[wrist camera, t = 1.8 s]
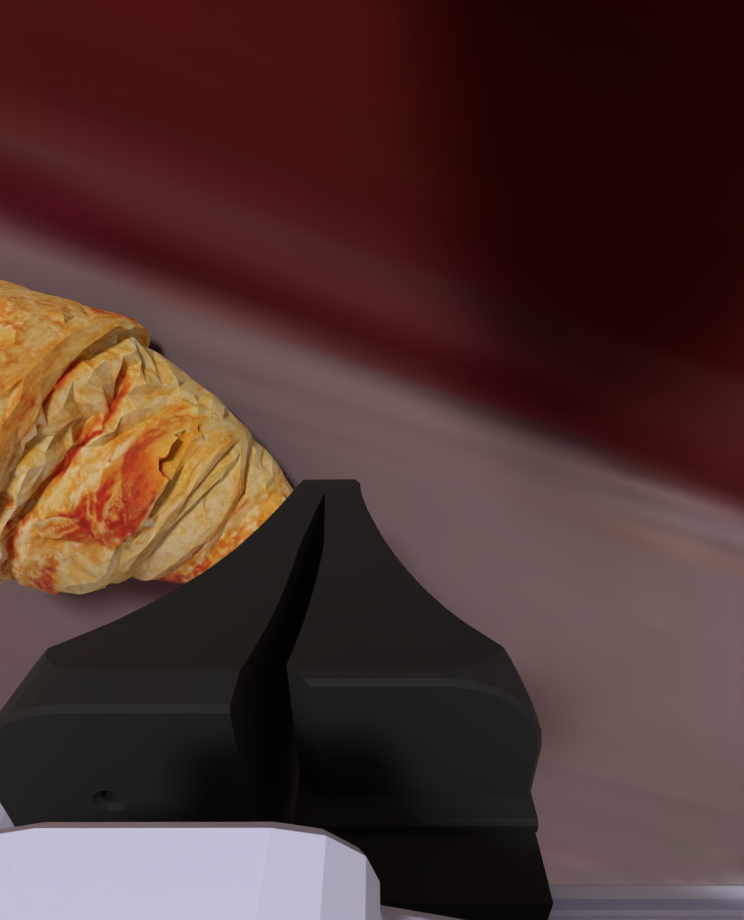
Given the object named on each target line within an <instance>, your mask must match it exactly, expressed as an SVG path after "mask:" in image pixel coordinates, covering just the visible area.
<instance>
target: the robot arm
mask: <svg viewBox="0 0 744 920" xmlns="http://www.w3.org/2000/svg"><path fill="white" fill-rule="evenodd" d="M540 750H541V729H540V726H539V722H538V718H537V715H536V712H535V709H534V707H533V704H532V702H531V699H530V697H529V695H528V693H527V691H526V688H525V686H524V684H523V682H522V680H521V678H520V676H519V674H518V672H517V670H516V668H515V666H514V665H513V663H512V661H511V659H510V657H509V656H508V654H507V652H506V650H505V649H504V648H503V647H502V646H501V645H499V644H498V643H496V642H494V641H493V640H491V639H490V638H488V637H487V636H485V635H483V634H482V633H480V632H479V631H477V630H476V629H474V628H472V627H471V626H469V625H468V624H466V623H465V622H463V621H462V620H460V619H459V618H458V617H457V616H455V615H454V614H453V613H451V612H450V611H449V610H447V609H446V608H445V607H444V606H443V605H442V604H441V603H439V602H438V601H437V600H436V599H435V598H434V597H433V596H432V595H431V594H430V593H428V592H427V591H426V590H425V589H424V588H423V587H422V586H421V585H420V584H419V583H418V582H417V581H416V580H415V579H414V577H413V576H412V575H411V574H410V573H409V572H408V571H407V570H406V568H405V567H404V566H403V565H402V564H401V562H400V561H399V560H398V559H397V557H396V556H395V555H394V553H393V552H392V550H391V549H390V548H389V546H388V545H387V543H386V542H385V540H384V539H383V537H382V535H381V534H380V532H379V530H378V529H377V527H376V525H375V523H374V521H373V519H372V518H371V516H370V514H369V512H368V509H367V507H366V505H365V502H364V500H363V497H362V494H361V489H360V483H359V482H358V481H356V480H303V481H302V482H301V483H300V484H299V485H298V486H297V487H296V488H295V489H294V490H293V492H292V493H291V494H290V495H289V496H288V497H287V498H286V499H285V501H284V502H283V503H282V504H281V505H280V506H279V507H278V508H277V509H276V510H275V511H274V512H273V513H272V515H271V516H270V517H269V518H268V519H267V520H266V521H265V522H264V523H263V524H262V525H261V526H260V527H259V528H258V529H257V530H256V531H254V532H253V533H252V534H251V535H250V536H249V537H248V538H247V539H246V540H245V541H243V542H242V543H241V544H240V545H239V546H238V547H237V548H235V549H234V550H233V551H232V552H230V553H229V554H228V555H227V556H225V557H224V558H223V559H221V560H220V561H218V562H217V563H216V564H214V565H213V566H212V567H210V568H209V569H207V570H206V571H204V572H203V573H201V574H200V575H198V576H196V577H195V578H193V579H192V580H190V581H188V582H187V583H185V584H183V585H182V586H180V587H179V588H177V589H175V590H174V591H172V592H170V593H169V594H167V595H165V596H163V597H162V598H160V599H158V600H156V601H154V602H152V603H150V604H148V605H147V606H145V607H143V608H141V609H139V610H136V611H134V612H132V613H130V614H128V615H126V616H124V617H122V618H120V619H118V620H116V621H113V622H111V623H109V624H107V625H104V626H102V627H100V628H97V629H95V630H92V631H90V632H87V633H85V634H83V635H80V636H78V637H75V638H73V639H70V640H68V641H66V642H63V643H61V644H58V645H55V646H53V647H50V648H48V649H47V650H46V651H45V652H44V654H43V655H42V656H41V657H40V659H39V660H38V661H37V663H36V664H35V665H34V666H33V668H32V669H31V670H30V671H29V673H28V674H27V675H26V677H25V678H24V680H23V681H22V682H21V684H20V685H19V686H18V688H17V689H16V691H15V692H14V693H13V695H12V696H11V697H10V699H9V700H8V701H7V703H6V704H5V706H4V707H3V708H2V710H1V711H0V920H744V885H549V884H548V880H547V876H546V872H545V868H544V865H543V861H542V857H541V853H540V849H539V845H538V841H537V838H536V834H535V832H537V829H538V818H537V814H536V810H535V807H534V803H533V799H532V796H531V787H532V783H533V779H534V775H535V771H536V767H537V762H538V758H539V754H540Z"/></svg>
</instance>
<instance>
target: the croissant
mask: <svg viewBox="0 0 744 920" xmlns="http://www.w3.org/2000/svg"><path fill="white" fill-rule="evenodd" d="M149 344H150V336H149V334H148V333H147V331H146V329H145V328H144V327H143V326H142V325H140V324H139V323H138V322H137V321H136V320H135V319H132V318H129V317H126V316H124V315H120V314H116V313H112V312H108V311H104V310H100V309H96V308H92V307H88V306H84V305H83V304H81V303H78V302H75V301H72V300H68V299H65V298H61V297H57V296H52V295H48V294H44V293H40V292H36V291H32V290H29V289H28V288H26V287H23V286H20V285H17V284H14V283H11V282H8V281H5V280H1V279H0V585H1V584H2V583H3V582H4V581H5V580H13V579H15V580H17V581H18V582H19V583H20V584H21V585H23V586H27V587H30V588H35V589H39V590H41V591H43V592H46V593H48V594H54V595H56V594H58V593H59V592H66V593H73V594H85V593H88V592H92V591H95V590H99V589H104V588H106V586H107V585H108V584H115V583H120V582H123V581H125V580H127V579H128V578H130V577H134V578H136V579H139V580H142V581H148V580H158V581H163V582H169V583H174V584H179V585H183V584H185V583H187V582H188V581H190V580H192V579H193V578H195V577H196V576H198V575H200V574H201V573H203V572H204V571H206V570H207V569H209V568H210V567H212V566H213V565H214V564H216V563H217V562H218V561H220V560H221V559H223V558H224V557H225V556H227V555H228V554H229V553H230V552H232V551H233V550H234V549H235V548H237V547H238V546H239V545H240V544H241V543H242V542H243V541H245V540H246V539H247V538H248V537H249V536H250V535H251V534H252V533H253V532H254V531H256V530H257V529H258V528H259V527H260V526H261V525H262V524H263V523H264V522H265V521H266V520H267V519H268V518H269V517H270V516H271V515H272V513H273V512H274V511H275V510H276V509H277V508H278V507H279V506H280V505H281V504H282V503H283V502H284V501H285V499H286V498H287V497H288V496H289V495H290V494H291V493H292V492H293V489H292V487H291V486H290V484H289V483H288V481H287V480H286V478H285V476H284V474H283V472H282V470H281V469H280V467H279V465H278V463H277V462H276V461H275V460H274V459H273V457H272V456H271V455H270V454H269V453H268V452H267V451H266V450H265V449H264V448H263V447H262V446H261V445H260V444H259V443H257V442H256V441H255V440H254V439H253V437H252V436H251V434H250V432H249V431H248V429H247V427H246V426H245V425H243V424H242V423H241V422H240V421H238V420H237V419H236V418H235V416H234V415H233V414H232V413H231V412H230V411H229V410H228V408H227V407H226V406H225V405H224V404H223V403H222V402H221V401H220V400H219V399H218V398H217V397H216V396H215V395H214V394H213V393H211V392H209V391H208V390H206V389H205V388H203V387H202V386H200V385H199V384H198V383H196V382H195V381H194V380H192V379H191V378H190V377H189V376H188V375H187V374H186V373H185V372H184V371H182V370H181V369H180V368H178V367H177V366H175V365H174V364H173V363H171V362H170V361H169V360H167V359H166V358H165V357H163V356H162V355H161V354H159V353H157V352H155V351H154V350H151V349H150V348H148V347H149Z"/></svg>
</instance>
